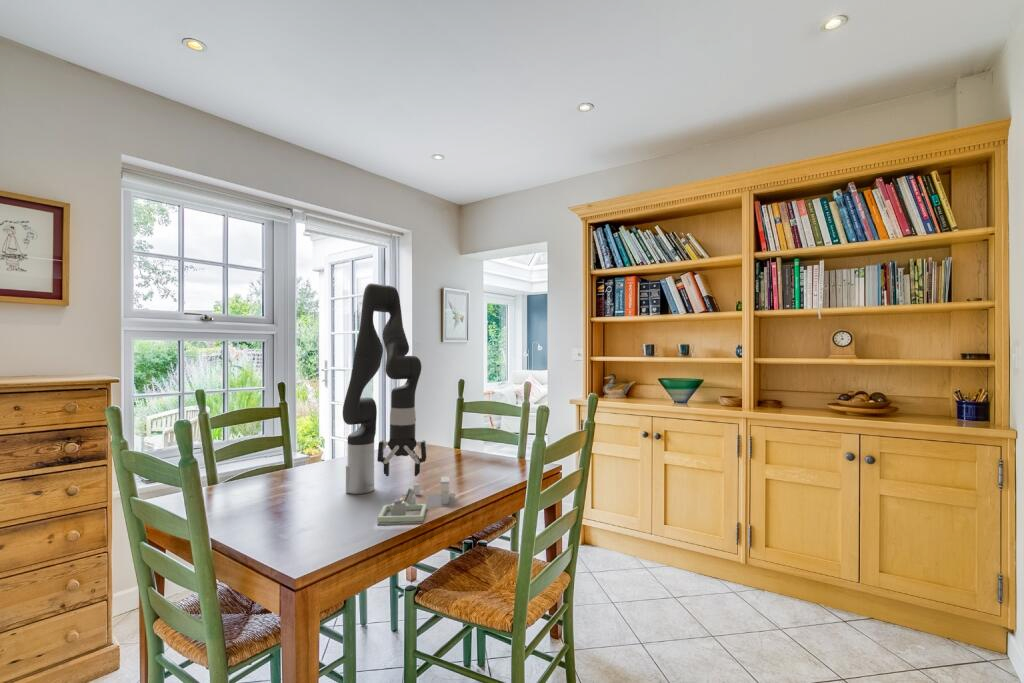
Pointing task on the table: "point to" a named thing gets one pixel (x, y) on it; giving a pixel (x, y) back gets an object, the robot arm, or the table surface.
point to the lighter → (401, 504)
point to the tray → (402, 518)
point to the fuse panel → (433, 498)
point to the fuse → (445, 485)
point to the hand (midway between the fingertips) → (401, 475)
